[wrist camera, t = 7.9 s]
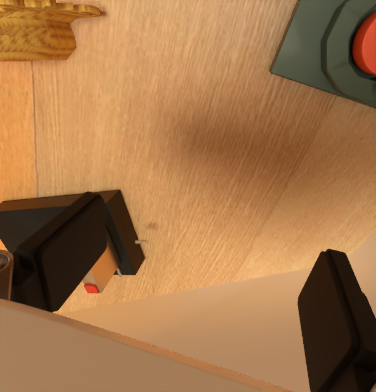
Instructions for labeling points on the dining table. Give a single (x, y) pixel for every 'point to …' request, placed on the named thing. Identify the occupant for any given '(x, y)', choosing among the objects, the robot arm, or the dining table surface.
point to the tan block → (102, 269)
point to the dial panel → (51, 206)
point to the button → (366, 45)
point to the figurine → (39, 29)
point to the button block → (326, 48)
